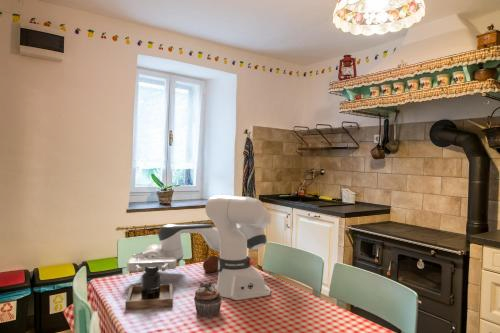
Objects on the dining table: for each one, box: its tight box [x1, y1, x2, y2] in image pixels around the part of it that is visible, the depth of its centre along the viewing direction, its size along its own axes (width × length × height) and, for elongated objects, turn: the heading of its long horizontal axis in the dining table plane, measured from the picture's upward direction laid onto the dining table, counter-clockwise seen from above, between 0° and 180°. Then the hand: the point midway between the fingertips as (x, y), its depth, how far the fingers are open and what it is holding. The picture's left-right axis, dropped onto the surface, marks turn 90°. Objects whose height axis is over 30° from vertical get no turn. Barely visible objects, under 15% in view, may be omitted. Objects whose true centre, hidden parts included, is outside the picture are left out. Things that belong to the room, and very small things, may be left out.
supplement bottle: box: [141, 264, 162, 300], centre depth 129 cm, size 7×7×12 cm
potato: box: [202, 255, 219, 274], centre depth 166 cm, size 8×11×8 cm
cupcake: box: [193, 281, 223, 319], centre depth 119 cm, size 10×10×10 cm
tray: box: [125, 283, 174, 311], centre depth 129 cm, size 16×16×3 cm
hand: (151, 269), depth 139 cm, fingers open, 8 cm apart
